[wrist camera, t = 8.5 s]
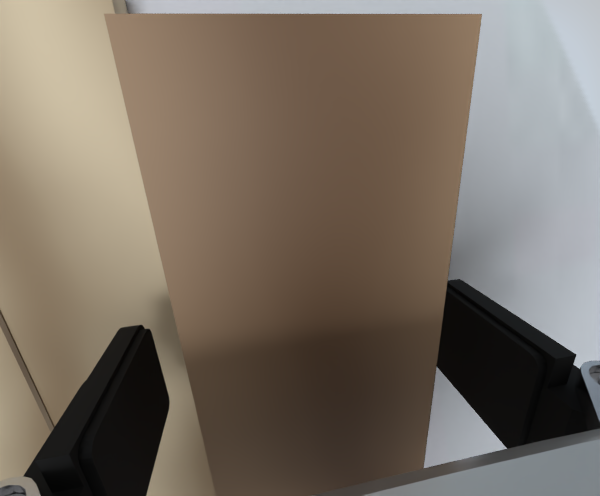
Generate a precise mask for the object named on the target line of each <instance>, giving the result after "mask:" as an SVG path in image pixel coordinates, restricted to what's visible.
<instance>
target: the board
mask: <svg viewBox="0 0 600 496" xmlns="http://www.w3.org/2000/svg"><path fill="white" fill-rule="evenodd" d="M104 14H128V12H127V7H126V3H125V0H0V481H3V480H5V479H8V478H12V477H20V476H24V474H25V472H26V471H27V469H28V468H29V466H30V465H31V463H32V462H33V460H34V458H35V457H36V455H37V454H38V452H39V451H40V449H41V448H42V446H43V444H44V443H45V441H46V440H47V438H48V437H49V435H50V433H51V432H52V430H53V429H54V427H55V426H56V424H57V423H58V421H59V419H60V418H61V416H62V415H63V413H64V412H65V410H66V409H67V407H68V405H69V404H70V402H71V401H72V399H73V398H74V396H75V395H76V393H77V391H78V390H79V388H80V387H81V385H82V384H83V383H84V382H85V381H86V380H87V378H88V377H89V375H90V374H91V372H92V371H93V369H94V367H95V366H96V364H97V363H98V361H99V360H100V358H101V356H102V355H103V353H104V352H105V350H106V349H107V347H108V345H109V344H110V342H111V341H112V339H113V337H114V336H115V334H116V333H117V331H118V330H119V329H120V328H122V327H128V326H135V325H143V326H144V328H145V329H150V330H151V332H152V336H153V339H154V343H155V347H156V350H157V354H158V358H159V361H160V365H161V369H162V372H163V376H164V380H165V383H166V387H167V391H168V395H169V401H170V405H169V411H168V415H167V419H166V423H165V426H164V430H163V434H162V438H161V442H160V445H159V449H158V453H157V457H156V461H155V464H154V468H153V472H152V476H151V480H150V483H149V487H148V491H147V495H146V496H216V494H215V489H214V485H213V481H212V477H211V472H210V468H209V464H208V459H207V455H206V451H205V446H204V442H203V438H202V434H201V429H200V425H199V421H198V416H197V412H196V408H195V403H194V399H193V395H192V391H191V386H190V382H189V378H188V373H187V369H186V365H185V361H184V356H183V352H182V348H181V343H180V339H179V335H178V330H177V326H176V322H175V318H174V313H173V309H172V305H171V300H170V296H169V292H168V287H167V283H166V279H165V275H164V270H163V266H162V262H161V257H160V253H159V249H158V244H157V240H156V236H155V232H154V227H153V223H152V219H151V214H150V210H149V206H148V201H147V197H146V193H145V189H144V184H143V180H142V176H141V171H140V167H139V163H138V159H137V154H136V150H135V146H134V141H133V137H132V133H131V128H130V124H129V120H128V116H127V111H126V107H125V103H124V98H123V94H122V90H121V85H120V81H119V77H118V73H117V68H116V64H115V60H114V55H113V51H112V47H111V42H110V38H109V34H108V30H107V25H106V21H105V17H104Z"/></svg>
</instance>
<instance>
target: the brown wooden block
mask: <svg viewBox="0 0 600 496" xmlns="http://www.w3.org/2000/svg"><path fill="white" fill-rule="evenodd" d="M104 17H105V21H106V25H107V30H108V34H109V38H110V42H111V47H112V51H113V55H114V60H115V64H116V68H117V73H118V77H119V81H120V85H121V90H122V94H123V98H124V103H125V107H126V111H127V116H128V120H129V124H130V128H131V133H132V137H133V141H134V146H135V150H136V154H137V159H138V163H139V167H140V171H141V176H142V180H143V184H144V189H145V193H146V197H147V201H148V206H149V210H150V214H151V219H152V223H153V227H154V232H155V236H156V240H157V244H158V249H159V253H160V257H161V262H162V266H163V270H164V275H165V279H166V283H167V287H168V292H169V296H170V300H171V305H172V309H173V313H174V318H175V322H176V326H177V330H178V335H179V339H180V343H181V348H182V352H183V356H184V361H185V365H186V369H187V373H188V378H189V382H190V386H191V391H192V395H193V399H194V403H195V408H196V412H197V416H198V421H199V425H200V429H201V434H202V438H203V442H204V446H205V451H206V455H207V459H208V464H209V468H210V472H211V477H212V481H213V485H214V489H215V494H216V496H312V495H316V494H320V493H324V492H328V491H332V490H337V489H341V488H345V487H349V486H353V485H357V484H361V483H366V482H370V481H374V480H378V479H382V478H386V477H390V476H395V475H399V474H403V473H407V472H411V471H415V470H420V469H423V467H424V460H425V452H426V444H427V436H428V429H429V421H430V413H431V405H432V398H433V390H434V382H435V374H436V366H437V359H438V351H439V343H440V335H441V328H442V320H443V312H444V304H445V297H446V289H447V281H448V273H449V266H450V258H451V250H452V242H453V235H454V227H455V219H456V211H457V204H458V196H459V188H460V180H461V172H462V165H463V157H464V149H465V141H466V134H467V126H468V118H469V110H470V103H471V95H472V87H473V79H474V72H475V64H476V56H477V48H478V41H479V33H480V25H481V17H482V14H104Z"/></svg>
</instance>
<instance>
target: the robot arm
mask: <svg viewBox="0 0 600 496" xmlns="http://www.w3.org/2000/svg"><path fill="white" fill-rule="evenodd" d="M575 357H576V354H574V353H573V352H571V351H570V350H568V349H567V348H565V347H564V346H562V345H560V344H559V343H557V342H556V341H554V340H553V339H551V338H550V337H548V336H547V335H545V334H544V333H542V332H540V331H539V330H537V329H536V328H534V327H533V326H531V325H530V324H528V323H527V322H525V321H524V320H522V319H520V318H519V317H517V316H516V315H514V314H513V313H511V312H510V311H508V310H507V309H505V308H504V307H502V306H500V305H499V304H497V303H496V302H494V301H493V300H491V299H490V298H488V297H487V296H485V295H484V294H482V293H480V292H479V291H477V290H476V289H474V288H473V287H471V286H470V285H468V284H467V283H465V282H464V281H462V280H460V279H457V280H450V281H447V289H446V297H445V304H444V312H443V320H442V328H441V335H440V343H439V351H438V359H437V367H438V368H439V369H440V370H441V372H442V373H443V374H444V375H445V376H446V378H447V379H448V380H449V381H450V382H451V383H452V385H453V386H454V387H455V388H456V389H457V390H458V392H459V393H460V394H461V395H462V396H463V397H464V399H465V400H466V401H467V402H468V403H469V404H470V406H471V407H472V408H473V409H474V410H475V412H476V413H477V414H478V415H479V416H480V417H481V419H482V420H483V421H484V422H485V423H486V424H487V426H488V427H489V428H490V429H491V430H492V431H493V433H494V434H495V435H496V436H497V437H498V438H499V440H500V441H501V442H502V443H503V444H504V445H505V447H506V448H507V449H504V450H500V451H496V452H492V453H487V454H483V455H479V456H474V457H470V458H466V459H462V460H457V461H453V462H449V463H445V464H441V465H436V466H432V467H428V468H424V469H420V470H415V471H411V472H407V473H403V474H399V475H395V476H390V477H386V478H382V479H378V480H374V481H370V482H366V483H361V484H357V485H353V486H349V487H345V488H341V489H337V490H332V491H328V492H324V493H320V494H316V495H312V496H600V361H589V362H585V363H584V364H583V365H582V366H581V368H580V369H579V368H577V367H576V366H574V365H573V363H574V360H575ZM169 405H170V401H169V395H168V391H167V387H166V383H165V380H164V376H163V372H162V369H161V365H160V361H159V358H158V354H157V350H156V347H155V343H154V339H153V336H152V332H151V330H150V329H145V328H144V326H143V325H135V326H128V327H122V328H120V329H119V330H118V331H117V333H116V334H115V336H114V337H113V339H112V341H111V342H110V344H109V345H108V347H107V349H106V350H105V352H104V353H103V355H102V356H101V358H100V360H99V361H98V363H97V364H96V366H95V367H94V369H93V371H92V372H91V374H90V375H89V377H88V378H87V380H86V381H85V382H84V383H83V384H82V385H81V387H80V388H79V390H78V391H77V393H76V395H75V396H74V398H73V399H72V401H71V402H70V404H69V405H68V407H67V409H66V410H65V412H64V413H63V415H62V416H61V418H60V419H59V421H58V423H57V424H56V426H55V427H54V429H53V430H52V432H51V433H50V435H49V437H48V438H47V440H46V441H45V443H44V444H43V446H42V448H41V449H40V451H39V452H38V454H37V455H36V457H35V458H34V460H33V462H32V463H31V465H30V466H29V468H28V469H27V471H26V472H25V474H24V476H20V477H12V478H8V479H5V480H3V481H0V496H146V495H147V491H148V487H149V483H150V480H151V476H152V472H153V468H154V464H155V461H156V457H157V453H158V449H159V445H160V442H161V438H162V434H163V430H164V426H165V423H166V419H167V415H168V411H169Z"/></svg>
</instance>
